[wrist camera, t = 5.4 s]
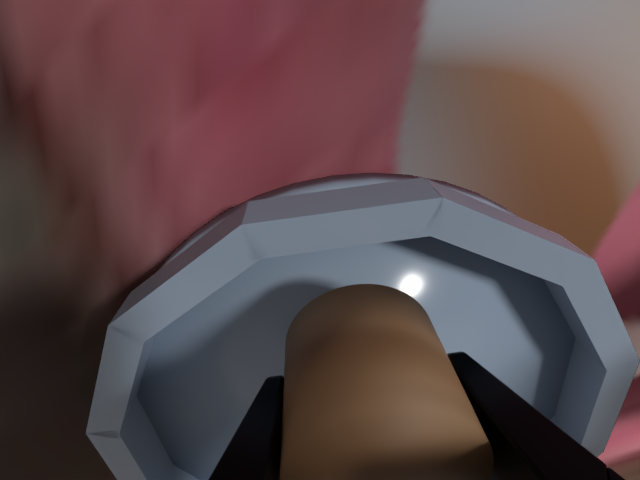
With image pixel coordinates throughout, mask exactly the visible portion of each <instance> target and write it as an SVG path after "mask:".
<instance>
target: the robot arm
mask: <svg viewBox="0 0 640 480" xmlns="http://www.w3.org/2000/svg"><path fill="white" fill-rule="evenodd" d="M447 356H448V358H449V360H450V362H451V364H452V366H453V368H454V370H455V372H456V374H457V376H458V378H459V380H460V382H461V385H462V387H463V389H464V391H465V393H466V395H467V397H468V399H469V401H470V403H471V405H472V407H473V409H474V411H475V414H476V416H477V418H478V420H479V422H480V424H481V426H482V428H483V430H484V432H485V434H486V436H487V438H488V440H489V443H490V445H491V448H492V451H493V457H494V463H493V469H492V472H491V475H490V477H489V479H488V480H625V479H624V478H622V477H621V476H620V475H619V474H617V473H616V472H615V471H613V470H612V469H611V468H607V467H606V465H605V464H604V463H603V462H602V461H601V460H599V459H598V458H597V457H596V456H594V455H593V454H592V453H591V452H589V451H588V450H587V449H586V448H584V447H583V446H582V445H581V444H579V443H578V442H577V441H576V440H574V439H573V438H572V437H571V436H569V435H568V434H567V433H566V432H564V431H563V430H562V429H561V428H559V427H558V426H557V425H556V424H554V423H553V422H552V421H551V420H549V419H548V418H547V417H545V416H544V415H543V414H542V413H540V412H539V411H538V410H537V409H535V408H534V407H533V406H532V405H530V404H529V403H528V402H527V401H525V400H524V399H523V398H522V397H520V396H519V395H518V394H517V393H515V392H514V391H513V390H512V389H510V388H509V387H508V386H507V385H505V384H504V383H503V382H502V381H500V380H499V379H498V378H497V377H495V376H494V375H493V374H492V373H490V372H489V371H488V370H487V369H485V368H484V367H483V366H481V365H480V364H479V363H478V362H476V361H475V360H474V359H473V358H471V357H470V356H469V355H468V354H466V353H465V352H453V353H448V354H447ZM283 389H284V377H283V376H282V375H278V376H270V377H267V378H266V379H265V381H264V383H263V385H262V386H261V388H260V390H259V392H258V393H257V395H256V397H255V399H254V400H253V402H252V404H251V406H250V407H249V409H248V411H247V413H246V414H245V416H244V418H243V420H242V421H241V423H240V425H239V427H238V428H237V430H236V432H235V434H234V435H233V437H232V439H231V441H230V442H229V444H228V446H227V448H226V449H225V451H224V453H223V455H222V456H221V458H220V460H219V462H218V463H217V465H216V467H215V469H214V471H213V472H212V474H211V476H210V478H209V479H208V480H280V460H281V436H282V413H283Z"/></svg>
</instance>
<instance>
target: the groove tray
mask: <svg viewBox="0 0 640 480" xmlns="http://www.w3.org/2000/svg"><path fill="white" fill-rule="evenodd" d="M355 284H378V285H384V286H389V287H392V288H395V289H398V290H400V291H402V292H404V293H406V294H408V295H409V296H411V297H413V298H414V299H415V300H416V301H417V302H418V303H420V305H421V306H422V307H423V308H424V309H425V311H426V313H427V314H428V316H429V318H430V320H431V322H432V324H433V326H434V329H435V331H436V333H437V335H438V337H439V339H440V341H441V343H442V345H443V347H444V349H445V351H446V353H447V354H448V353H453V352H465V353H466V354H468V355H469V356H470V357H471V358H473V359H474V360H475V361H476V362H478V363H479V364H480V365H481V366H483V367H484V368H485V369H487V370H488V371H489V372H490V373H492V374H493V375H494V376H495V377H497V378H498V379H499V380H500V381H502V382H503V383H504V384H505V385H507V386H508V387H509V388H510V389H512V390H513V391H514V392H515V393H517V394H518V395H519V396H520V397H522V398H523V399H524V400H525V401H527V402H528V403H529V404H530V405H532V406H533V407H534V408H535V409H537V410H538V411H539V412H540V413H542V414H543V415H544V416H545V417H547V418H548V419H549V420H551V421H552V422H553V423H554V424H556V425H557V426H558V427H559V428H561V429H562V430H563V431H564V432H566V433H567V434H568V435H569V436H571V437H572V438H573V439H574V440H576V441H577V442H578V443H579V444H581V445H582V446H583V447H584V448H586V449H587V450H588V451H589V452H591V453H592V454H593V455H594V456H596V457H598V456H599V455H600V454H601V453H603V451H604V449H605V447H606V445H607V442H608V440H609V437H610V435H611V432H612V430H613V427H614V425H615V422H616V420H617V417H618V415H619V412H620V410H621V407H622V405H623V402H624V400H625V397H626V395H627V392H628V390H629V388H630V385H631V383H632V380H633V378H634V375H635V373H636V370H637V368H638V365H639V363H640V359H639V357H638V355H637V353H636V350H635V348H634V346H633V344H632V341H631V339H630V337H629V335H628V332H627V330H626V328H625V326H624V323H623V321H622V319H621V317H620V314H619V312H618V310H617V308H616V306H615V303H614V301H613V299H612V297H611V294H610V292H609V290H608V288H607V285H606V283H605V281H604V279H603V276H602V274H601V272H600V270H599V268H598V265H597V263H596V261H595V260H594V259H593V258H591V257H590V256H589V255H587V254H586V253H584V252H583V251H582V250H580V249H579V248H577V247H576V246H575V245H573V244H572V243H570V242H569V241H568V240H566V239H565V238H563V237H562V236H561V235H559V234H557V233H555V232H552V231H549V230H547V229H545V228H543V227H540V226H538V225H536V224H533V223H530V222H528V221H526V220H524V219H521V218H519V217H517V216H516V215H515V214H513V213H512V212H511V211H509V210H508V209H507V208H505V207H503V206H502V205H500V204H498V203H496V202H494V201H492V200H490V199H488V198H486V197H484V196H482V195H480V194H479V193H476V192H473V191H471V190H468V189H464V188H461V187H458V186H456V185H453V184H450V183H447V182H444V181H438V180H433V179H428V178H423V177H418V176H412V175H403V174H385V173H360V174H346V175H333V176H327V177H322V178H317V179H312V180H307V181H302V182H298V183H293V184H290V185H287V186H284V187H281V188H278V189H275V190H272V191H269V192H266V193H263V194H261V195H258V196H256V197H254V198H252V199H249V200H247V201H245V202H243V203H241V204H239V205H237V206H235V207H233V208H231V209H229V210H227V211H225V212H223V213H222V214H220V215H219V216H218V217H216V218H215V219H213V220H212V221H210V222H209V223H207V224H206V225H204V226H203V227H201V228H200V229H198V230H197V231H195V232H194V233H193V234H192V235H191V236H190V237H189V238H188V239H187V240H186V241H184V242H183V243H182V244H181V245H180V246H179V247H178V248H177V249H176V250H175V251H173V252H172V254H171V255H170V256H169V257H168V259H167V260H166V261H165V262H164V263H163V265H162V266H161V267H160V268H159V270H158V271H157V272H156V273H155V274H153V275H152V276H151V277H150V278H148V279H147V280H146V281H144V282H143V283H142V284H141V285H139V286H138V287H137V288H135V289H134V290H133V291H131V292H130V294H129V295H128V297H127V298H126V300H125V301H124V303H123V304H122V306H121V307H120V309H119V310H118V312H117V313H116V314H115V316H114V317H113V319H112V320H111V322H110V323H109V325H108V328H107V332H106V337H105V342H104V347H103V352H102V357H101V362H100V366H99V371H98V376H97V381H96V386H95V391H94V395H93V400H92V405H91V410H90V415H89V420H88V425H87V429H86V435H87V436H88V438H89V439H90V441H91V442H92V444H93V445H94V447H95V448H96V450H97V451H98V452H99V454H100V455H101V457H102V458H103V460H104V461H105V463H106V464H107V466H108V467H109V469H110V470H111V472H112V473H113V475H114V476H115V477H116V479H117V480H208V479H209V478H210V476H211V474H212V472H213V471H214V469H215V467H216V465H217V463H218V462H219V460H220V458H221V456H222V455H223V453H224V451H225V449H226V448H227V446H228V444H229V442H230V441H231V439H232V437H233V435H234V434H235V432H236V430H237V428H238V427H239V425H240V423H241V421H242V420H243V418H244V416H245V414H246V413H247V411H248V409H249V407H250V406H251V404H252V402H253V400H254V399H255V397H256V395H257V393H258V392H259V390H260V388H261V386H262V385H263V383H264V381H265V379H266V378H267V377H270V376H278V375H282V376H283V377H284V365H285V343H286V336H287V332H288V329H289V327H290V325H291V322H292V321H293V319H294V318H295V316H296V315H297V314H298V313H299V312H300V310H301V309H302V308H303V307H304V306H306V305H307V304H308V303H309V302H311V301H312V300H313V299H315V298H316V297H318V296H320V295H322V294H324V293H326V292H328V291H331V290H333V289H336V288H340V287H344V286H348V285H355Z"/></svg>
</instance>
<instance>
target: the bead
mask: <svg viewBox="0 0 640 480" xmlns="http://www.w3.org/2000/svg"><path fill="white" fill-rule="evenodd" d="M493 463H494V457H493V451H492V448H491V445H490V443H489V440H488V438H487V436H486V434H485V432H484V430H483V428H482V426H481V424H480V422H479V420H478V418H477V416H476V414H475V411H474V409H473V407H472V405H471V403H470V401H469V399H468V397H467V395H466V393H465V391H464V389H463V387H462V385H461V382H460V380H459V378H458V376H457V374H456V372H455V370H454V368H453V366H452V364H451V362H450V360H449V358H448V356H447V353H446V351H445V349H444V347H443V345H442V343H441V341H440V339H439V337H438V335H437V333H436V331H435V329H434V326H433V324H432V322H431V320H430V318H429V316H428V314H427V313H426V311H425V309H424V308H423V307H422V306H421V305H420V303H418V302H417V301H416V300H415V299H414V298H413V297H411V296H409V295H408V294H406V293H404V292H402V291H400V290H398V289H395V288H392V287H389V286H384V285H378V284H355V285H348V286H344V287H340V288H336V289H333V290H331V291H328V292H326V293H324V294H322V295H320V296H318V297H316V298H315V299H313V300H312V301H311V302H309V303H308V304H307V305H306V306H304V307H303V308H302V309H301V310H300V312H299V313H298V314H297V315H296V316H295V318H294V319H293V321H292V322H291V325H290V327H289V329H288V332H287V336H286V343H285V365H284V389H283V413H282V436H281V460H280V480H488V479H489V477H490V475H491V472H492V469H493Z"/></svg>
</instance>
